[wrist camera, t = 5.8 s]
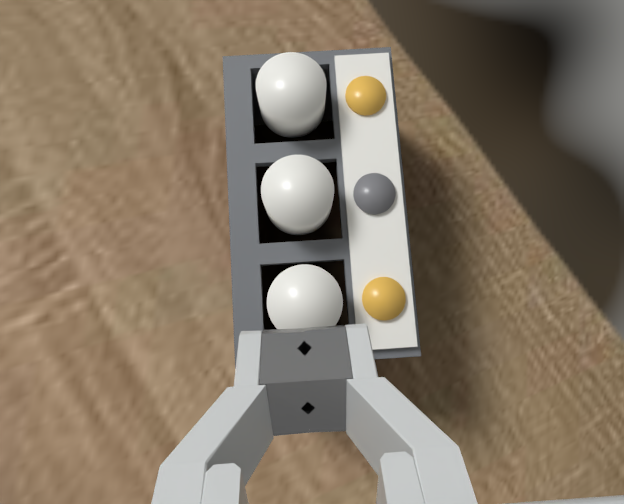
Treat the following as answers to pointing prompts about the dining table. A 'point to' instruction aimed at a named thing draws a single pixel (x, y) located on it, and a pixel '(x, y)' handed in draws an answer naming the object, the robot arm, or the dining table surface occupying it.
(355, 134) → the pattern card
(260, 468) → the dining table surface
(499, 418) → the dining table surface
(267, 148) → the button console
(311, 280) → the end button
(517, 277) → the dining table surface
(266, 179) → the middle button
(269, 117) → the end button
